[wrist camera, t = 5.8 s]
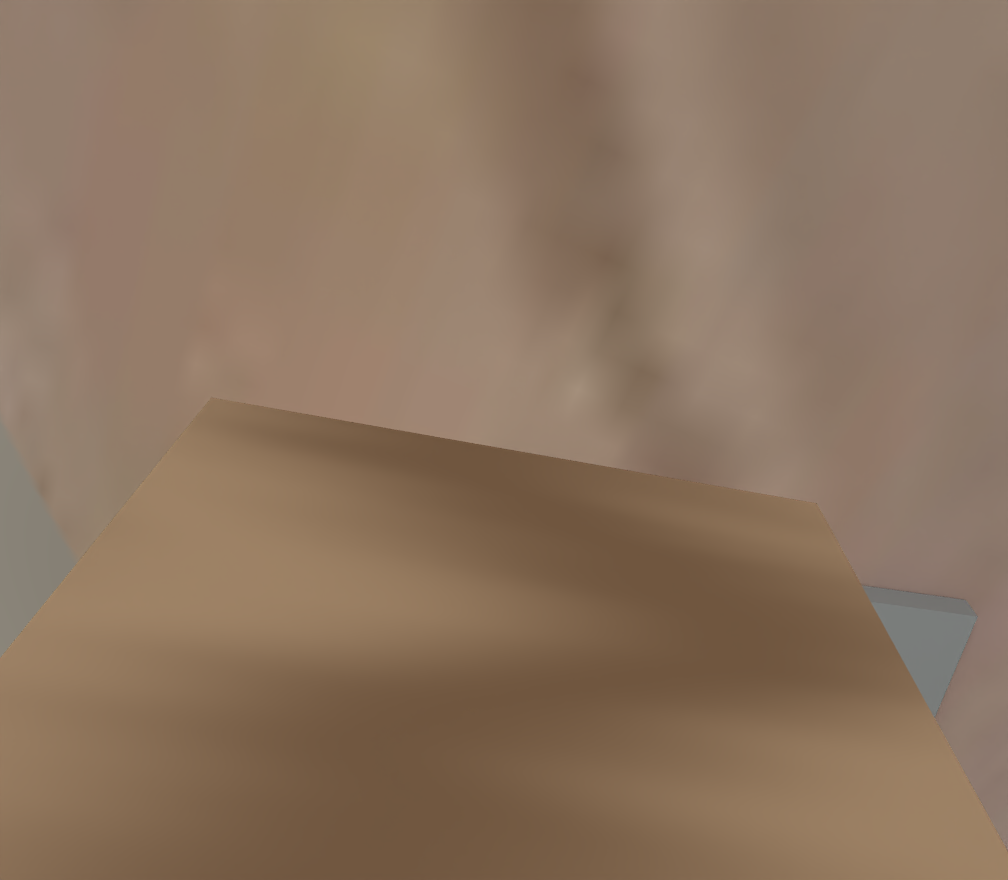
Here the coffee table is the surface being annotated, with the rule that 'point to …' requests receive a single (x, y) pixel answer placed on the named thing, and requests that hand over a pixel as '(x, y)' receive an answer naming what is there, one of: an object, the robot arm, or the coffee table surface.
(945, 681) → the slate coaster
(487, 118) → the coffee table surface
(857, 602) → the walnut cube
